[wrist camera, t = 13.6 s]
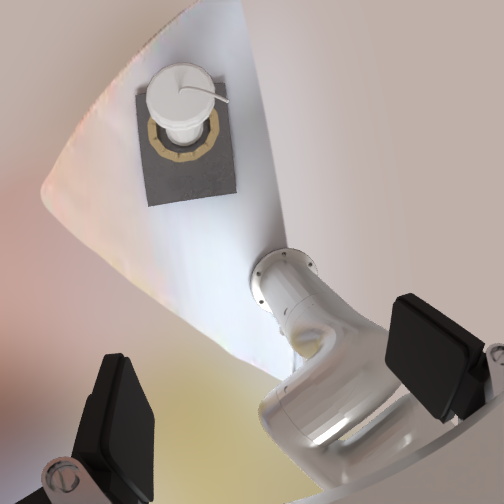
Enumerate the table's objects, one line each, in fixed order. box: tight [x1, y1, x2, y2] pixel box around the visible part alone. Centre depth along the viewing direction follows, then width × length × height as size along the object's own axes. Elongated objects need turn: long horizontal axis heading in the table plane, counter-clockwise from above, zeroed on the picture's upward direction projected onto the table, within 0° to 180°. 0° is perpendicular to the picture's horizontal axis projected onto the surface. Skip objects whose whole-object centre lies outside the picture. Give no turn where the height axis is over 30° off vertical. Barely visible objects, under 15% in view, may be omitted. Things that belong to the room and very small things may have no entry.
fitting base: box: [135, 83, 237, 207], centre depth 41 cm, size 18×14×6 cm
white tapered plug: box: [146, 63, 229, 146], centre depth 28 cm, size 6×6×30 cm
